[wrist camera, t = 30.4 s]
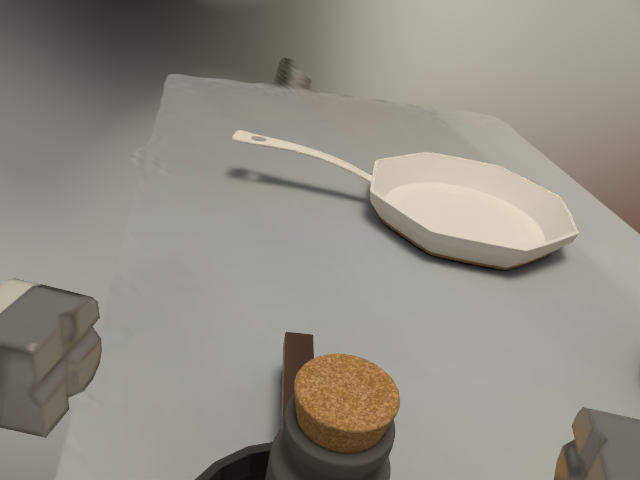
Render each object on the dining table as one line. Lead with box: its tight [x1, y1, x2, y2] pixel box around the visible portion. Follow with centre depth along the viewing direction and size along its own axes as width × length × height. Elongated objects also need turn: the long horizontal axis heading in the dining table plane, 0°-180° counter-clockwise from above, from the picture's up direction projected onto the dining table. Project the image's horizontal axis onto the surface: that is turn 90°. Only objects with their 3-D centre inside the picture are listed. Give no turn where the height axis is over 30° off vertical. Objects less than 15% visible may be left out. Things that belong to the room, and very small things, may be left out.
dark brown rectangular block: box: [281, 332, 314, 429], centre depth 44 cm, size 2×11×4 cm, turn 1°
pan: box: [232, 130, 579, 270], centre depth 78 cm, size 25×44×6 cm, turn 81°
